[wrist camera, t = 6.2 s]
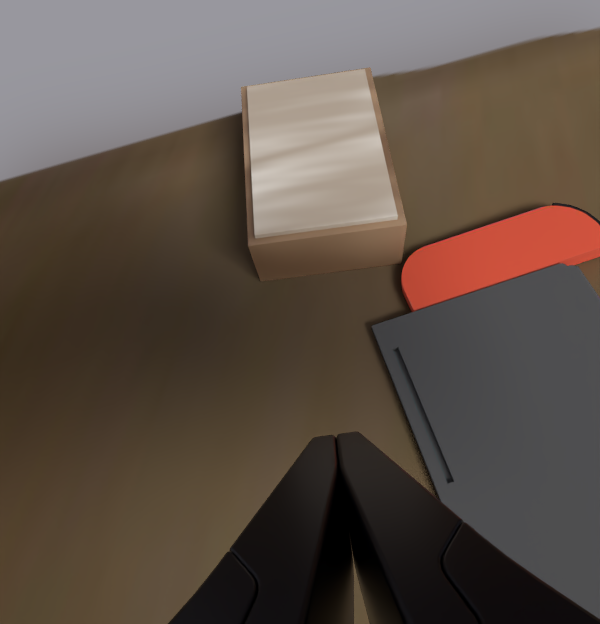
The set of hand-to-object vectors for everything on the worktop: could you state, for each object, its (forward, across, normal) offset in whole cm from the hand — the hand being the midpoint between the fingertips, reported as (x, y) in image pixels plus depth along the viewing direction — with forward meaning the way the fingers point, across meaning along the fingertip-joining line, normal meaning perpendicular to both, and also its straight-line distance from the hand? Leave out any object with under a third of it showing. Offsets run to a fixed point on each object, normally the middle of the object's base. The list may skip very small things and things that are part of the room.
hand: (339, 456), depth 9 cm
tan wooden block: (+12, -1, -2) cm, 12 cm away
